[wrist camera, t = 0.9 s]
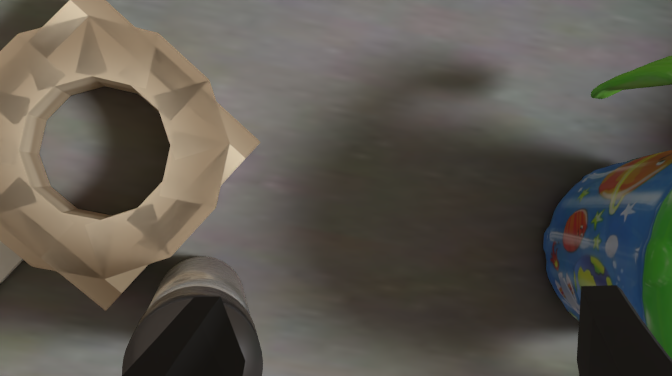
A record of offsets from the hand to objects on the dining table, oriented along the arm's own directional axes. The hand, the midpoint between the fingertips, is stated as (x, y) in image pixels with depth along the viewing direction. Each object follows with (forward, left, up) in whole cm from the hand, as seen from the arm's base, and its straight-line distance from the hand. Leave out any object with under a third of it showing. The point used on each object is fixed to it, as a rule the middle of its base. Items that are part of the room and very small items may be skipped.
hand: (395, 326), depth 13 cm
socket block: (-2, +8, -13) cm, 16 cm away
